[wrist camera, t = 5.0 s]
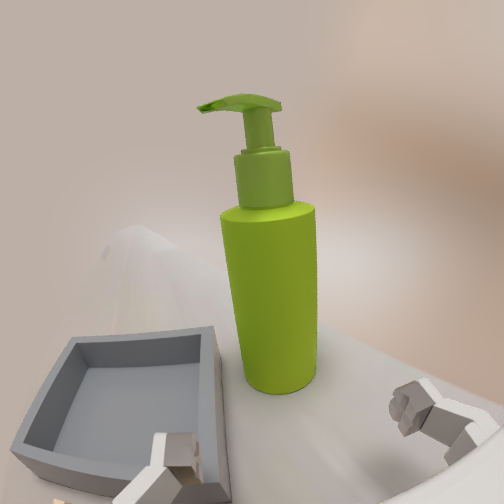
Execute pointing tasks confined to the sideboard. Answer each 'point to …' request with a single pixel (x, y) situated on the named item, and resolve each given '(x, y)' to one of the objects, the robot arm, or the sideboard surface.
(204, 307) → the sideboard surface
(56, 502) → the parts tray
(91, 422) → the dish
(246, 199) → the soap dispenser
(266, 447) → the sideboard surface
